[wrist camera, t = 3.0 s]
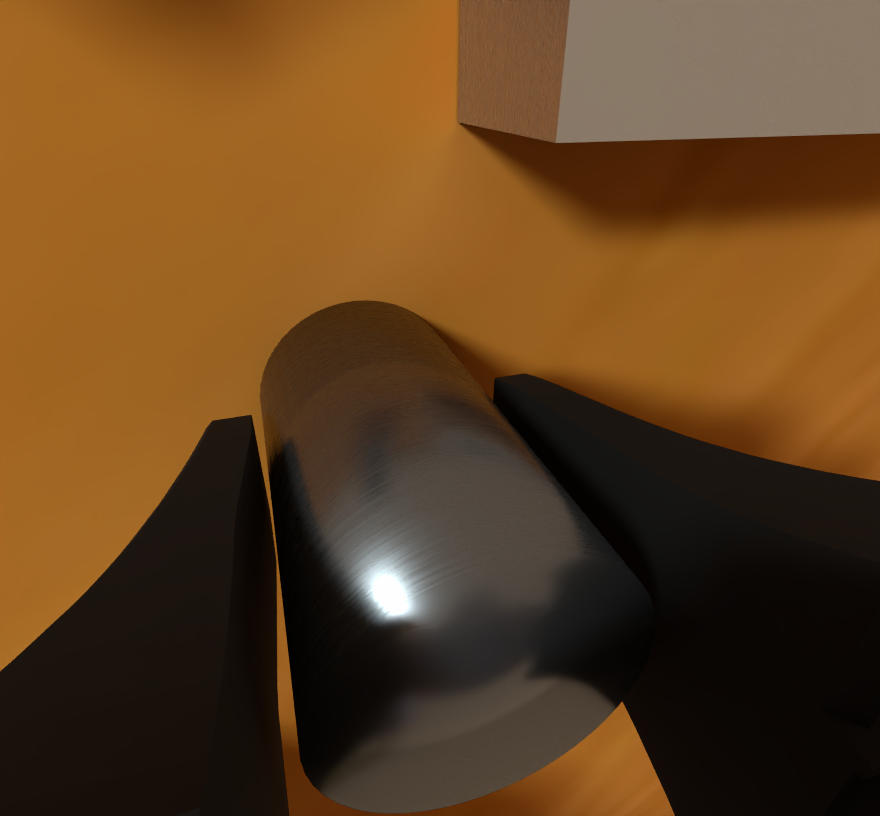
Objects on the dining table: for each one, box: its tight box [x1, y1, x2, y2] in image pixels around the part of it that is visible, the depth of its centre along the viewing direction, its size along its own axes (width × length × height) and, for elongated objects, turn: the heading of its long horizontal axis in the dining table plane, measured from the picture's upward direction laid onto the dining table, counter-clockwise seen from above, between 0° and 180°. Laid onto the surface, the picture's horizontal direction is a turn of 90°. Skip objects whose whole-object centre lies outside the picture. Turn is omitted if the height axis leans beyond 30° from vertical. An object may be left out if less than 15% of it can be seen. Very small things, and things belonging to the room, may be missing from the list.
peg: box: [260, 301, 656, 813], centre depth 9 cm, size 4×4×7 cm
